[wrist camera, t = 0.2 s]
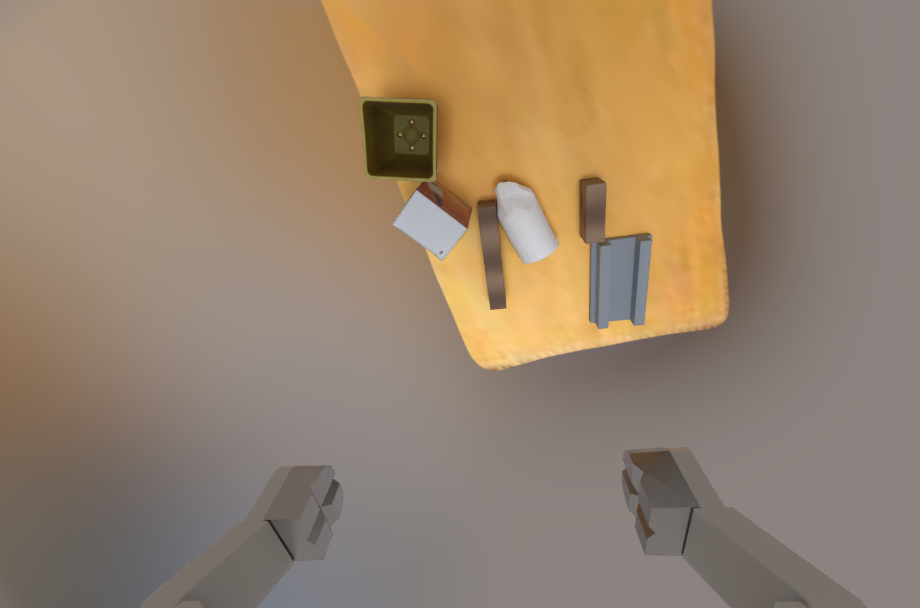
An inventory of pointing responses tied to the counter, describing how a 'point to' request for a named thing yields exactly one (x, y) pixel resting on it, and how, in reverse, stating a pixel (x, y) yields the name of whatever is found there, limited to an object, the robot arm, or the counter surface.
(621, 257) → the cradle
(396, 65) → the counter surface
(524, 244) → the roll
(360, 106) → the flower pot
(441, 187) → the small box
